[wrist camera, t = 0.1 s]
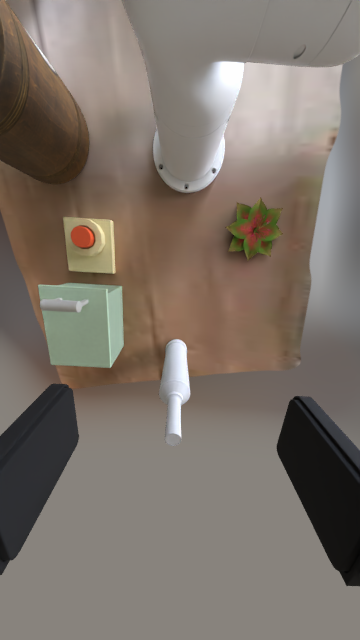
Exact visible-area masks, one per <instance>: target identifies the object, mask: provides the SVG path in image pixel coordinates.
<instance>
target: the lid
mask: <svg viewBox="0 0 360 640" xmlns="http://www.w3.org/2000/svg"><path fill="white" fill-rule="evenodd" d="M38 289H39V295H40V301H41V302H40V308H41V309H42V314H43V320H44V326H45V332H46V338H47V344H48V350H49V356H50V362H51V365H66V366H84V367H103V368H111V366H112V361H111V343H110V324H109V305H108V289H104V288H88V287H72V286H56V285H38Z"/></svg>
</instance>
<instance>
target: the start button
mask: <svg viewBox="0 0 360 640" xmlns="http://www.w3.org/2000/svg"><path fill="white" fill-rule="evenodd" d="M71 239H72V242H73V243H74V244H75V245H76V246H78V247H81V248H89V247H91V246H92V245H93V243H94V235H93V233H92V231H91V230H90V229H88V228H86V227H82V226H77V227H75V228H73V229H72V231H71Z"/></svg>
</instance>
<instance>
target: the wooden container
mask: <svg viewBox="0 0 360 640" xmlns="http://www.w3.org/2000/svg"><path fill="white" fill-rule="evenodd" d="M88 151H89V134H88V129H87V125H86V121H85V118H84V116H83V114H82V112H81V110H80V108H79V106H78V104H77V103H76V101H75V100H74V98H73V97H72V95H71V94H70V92H69V91H68V89H67V88H66V86H65V85H64V83H63V82H62V80H61V79H60V77H59V76H58V74H57V73H56V71H55V70H54V69H53V67H52V66H51V64H50V63H49V62H48V60H47V59H46V57H45V56H44V54H43V53H42V52H41V50H40V49H39V48H38V46H37V45H36V43H35V42H34V41H33V39H32V38H31V36H30V35H29V34H28V32H27V31H26V29H25V28H24V27H23V25H22V24H21V22H20V21H19V19H18V18H17V17H16V15H15V14H14V12H13V11H12V10H11V8H10V7H9V5H8V4H7V2H6V0H0V160H1V161H3V162H5V163H7V164H8V165H10V166H12V167H14V168H16V169H18V170H20V171H22V172H24V173H25V174H27V175H29V176H31V177H33V178H35V179H37V180H39V181H42V182H45V183H50V184H61V183H65V182H67V181H69V180H71V179H73V178H74V177H76V176H77V175H78V174H79V173H80V171H81V170H82V169H83V167H84V165H85V163H86V160H87V156H88Z"/></svg>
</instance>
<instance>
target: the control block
mask: <svg viewBox="0 0 360 640" xmlns="http://www.w3.org/2000/svg"><path fill="white" fill-rule="evenodd" d="M63 222H64V231H65V240H66V249H67V258H68V266H69V271H79V272H95V273H111V274H113V273H115V252H114V227H113V221H111V220H102V219H88V218H73V217H63ZM77 226H82V227H86V228H88V229H90V230H91V231H92V233H93V235H94V243H93V245H92V246H91V247H89V248H81V247H78V246H76V245H75V244H74V243H73V242H72V239H71V231H72V229H73V228H75V227H77Z"/></svg>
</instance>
